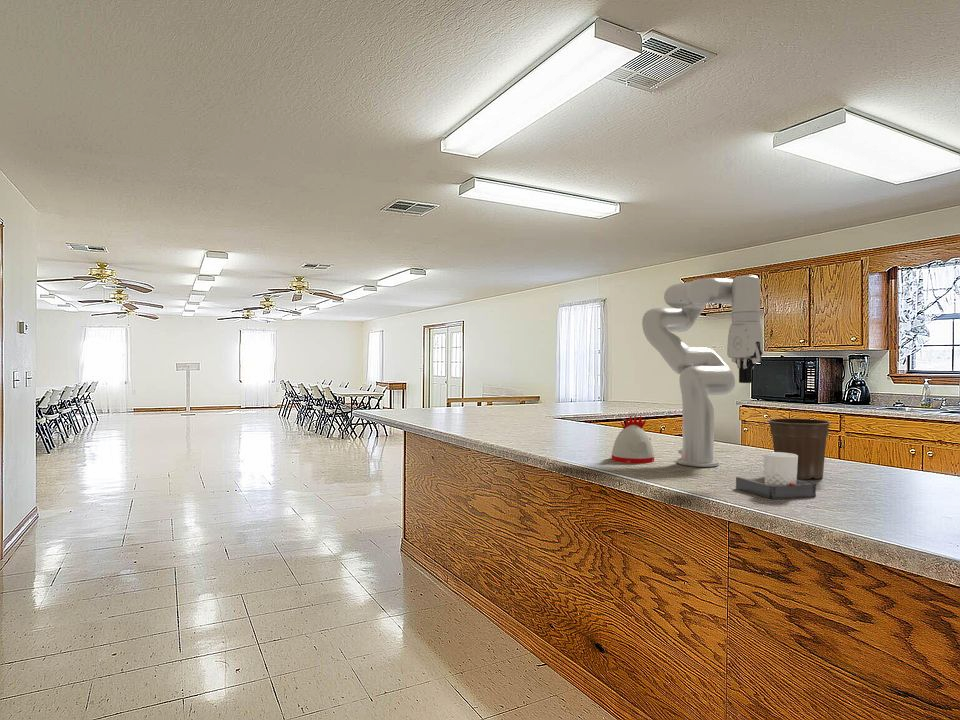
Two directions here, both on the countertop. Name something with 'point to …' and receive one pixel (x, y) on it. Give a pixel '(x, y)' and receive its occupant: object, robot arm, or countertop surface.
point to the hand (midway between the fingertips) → (745, 382)
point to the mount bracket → (777, 489)
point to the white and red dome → (633, 444)
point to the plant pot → (802, 443)
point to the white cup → (780, 468)
